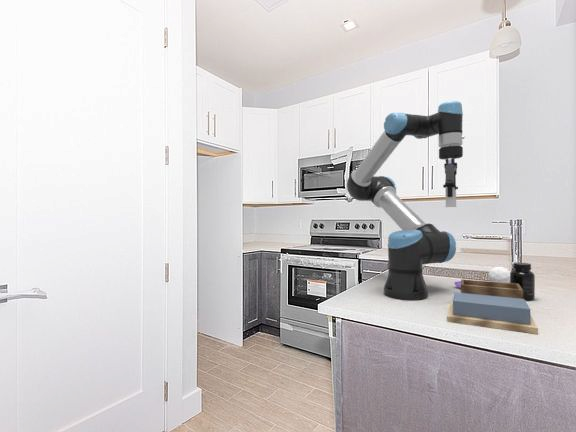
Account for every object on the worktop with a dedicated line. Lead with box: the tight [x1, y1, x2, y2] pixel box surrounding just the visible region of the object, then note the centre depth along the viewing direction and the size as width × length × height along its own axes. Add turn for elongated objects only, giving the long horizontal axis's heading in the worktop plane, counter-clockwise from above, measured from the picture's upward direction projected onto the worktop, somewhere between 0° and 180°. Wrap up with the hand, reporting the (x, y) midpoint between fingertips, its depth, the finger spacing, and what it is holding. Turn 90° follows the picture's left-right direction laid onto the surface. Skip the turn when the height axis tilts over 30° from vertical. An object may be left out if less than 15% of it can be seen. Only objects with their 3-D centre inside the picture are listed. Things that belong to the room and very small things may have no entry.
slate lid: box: [452, 291, 531, 325], centre depth 89 cm, size 17×10×4 cm, turn 60°
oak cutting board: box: [446, 302, 539, 335], centre depth 89 cm, size 20×14×2 cm
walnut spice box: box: [460, 278, 523, 299], centre depth 101 cm, size 16×9×7 cm, turn 60°
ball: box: [488, 266, 511, 283], centre depth 127 cm, size 8×8×8 cm
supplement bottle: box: [509, 261, 536, 302], centre depth 109 cm, size 7×7×12 cm
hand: (451, 207), depth 113 cm, fingers open, 13 cm apart
